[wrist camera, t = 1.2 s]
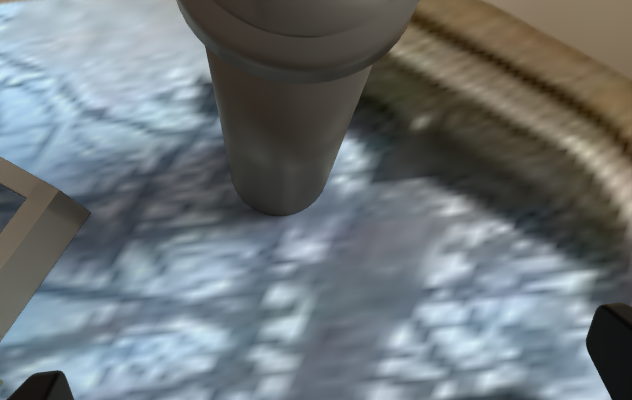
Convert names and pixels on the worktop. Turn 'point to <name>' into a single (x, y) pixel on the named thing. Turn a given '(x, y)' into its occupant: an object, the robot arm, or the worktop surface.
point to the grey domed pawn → (290, 85)
